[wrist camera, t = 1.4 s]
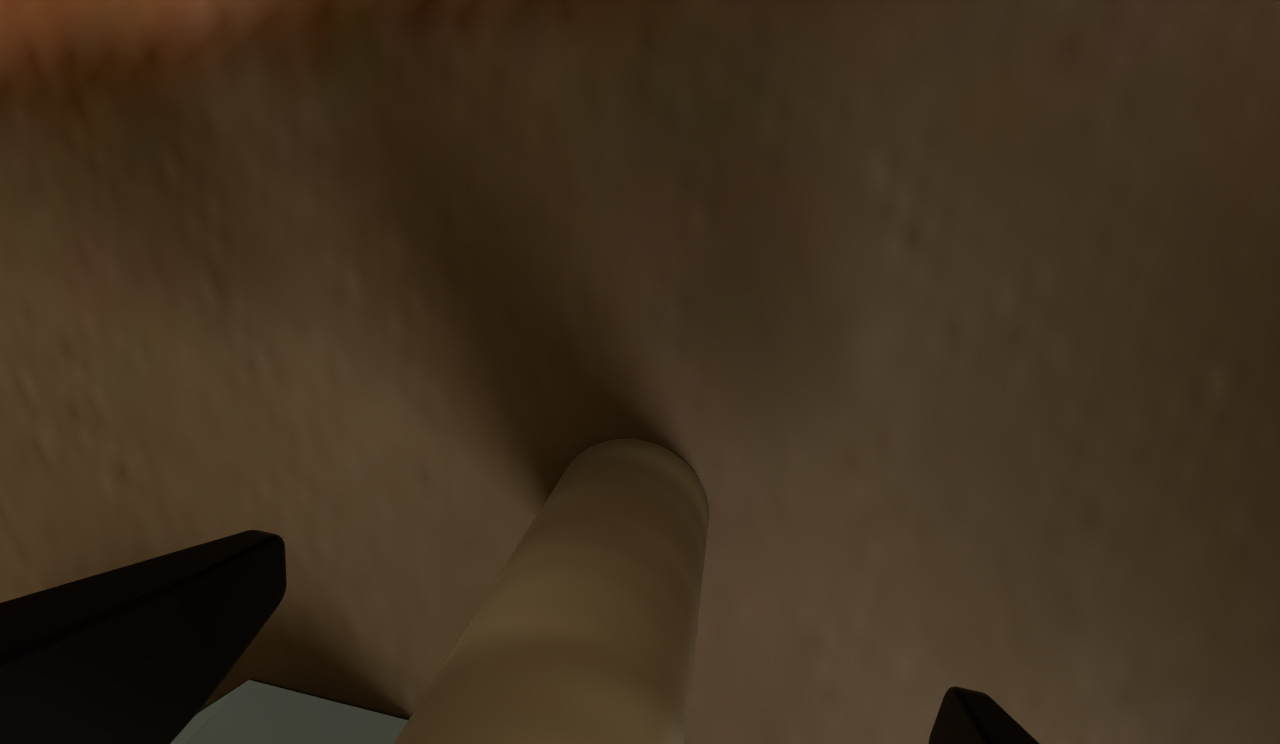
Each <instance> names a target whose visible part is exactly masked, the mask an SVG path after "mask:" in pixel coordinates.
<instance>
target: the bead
mask: <svg viewBox="0 0 1280 744" xmlns="http://www.w3.org/2000/svg"><path fill="white" fill-rule="evenodd" d="M407 722H408V720H405V719H401V718H397V717H393V716H389V715H385V714H381V713H377V712H373V711H369V710H365V709H361V708H358V707H354V706H350V705H346V704H342V703H338V702H334V701H330V700H326V699H322V698H318V697H314V696H310V695H306V694H302V693H298V692H295V691H291V690H287V689H283V688H279V687H275V686H271V685H267V684H263V683H259V682H255V681H251V680H248V681H247V682H245V683H243V684H242V685H240V686H239V687H237V688H236V689H234V690H233V691H231V692H230V693H228V694H227V695H225V696H224V697H222V698H221V699H219V700H218V701H216V702H215V703H213V704H212V705H210V706H208V707H207V708H205V709H204V710H202V711H201V712H199V713H198V714H196V715H195V716H194V717H193V719H192V720H191V721H190V722H189V723H188V724H187V726H186V727H185V728H184V729H183V730H182V731H181V732H180V733H179V735H178V736H177V737H176V738H175V739H174V740H173V741H172V743H171V744H394V743H395V741H396V739H397V738H398V736H399V735H400V733H401V731H402V730H403V728H404V727H405V725H406V723H407Z"/></svg>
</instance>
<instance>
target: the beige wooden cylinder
mask: <svg viewBox="0 0 1280 744" xmlns="http://www.w3.org/2000/svg"><path fill="white" fill-rule="evenodd" d="M708 520H709V507H708V502H707V497H706V494H705V491H704V488H703V486H702V484H701V482H700V480H699V479H698V477H697V476H696V474H695V472H694V471H693V470H692V469H691V468H690V467H689V465H688V464H687V463H686V462H684V461H683V460H682V459H681V458H680V457H679V456H677V455H676V454H674V453H673V452H672V451H670V450H668V449H666V448H664V447H662V446H660V445H657V444H655V443H652V442H648V441H644V440H639V439H613V440H608V441H604V442H601V443H598V444H596V445H593V446H591V447H590V448H588V449H586V450H584V451H583V452H582V453H580V454H579V455H578V456H577V457H576V458H575V459H574V460H573V461H572V462H571V463H570V464H569V466H568V467H567V469H566V470H565V472H564V473H563V475H562V476H561V478H560V480H559V481H558V483H557V484H556V486H555V488H554V489H553V491H552V492H551V494H550V496H549V497H548V499H547V500H546V502H545V504H544V505H543V507H542V508H541V510H540V511H539V513H538V515H537V516H536V518H535V519H534V521H533V523H532V524H531V526H530V527H529V529H528V531H527V532H526V534H525V535H524V537H523V539H522V540H521V542H520V543H519V545H518V547H517V548H516V550H515V551H514V553H513V555H512V556H511V558H510V559H509V561H508V562H507V564H506V566H505V567H504V569H503V570H502V572H501V574H500V575H499V577H498V578H497V580H496V582H495V583H494V585H493V586H492V588H491V590H490V591H489V593H488V594H487V596H486V598H485V599H484V601H483V602H482V604H481V606H480V607H479V609H478V610H477V612H476V613H475V615H474V617H473V618H472V620H471V621H470V623H469V625H468V626H467V628H466V629H465V631H464V633H463V634H462V636H461V637H460V639H459V641H458V642H457V644H456V645H455V647H454V649H453V650H452V652H451V653H450V655H449V657H448V658H447V660H446V661H445V663H444V664H443V666H442V668H441V669H440V671H439V672H438V674H437V676H436V677H435V679H434V680H433V682H432V684H431V685H430V687H429V688H428V690H427V692H426V693H425V695H424V696H423V698H422V700H421V701H420V703H419V704H418V706H417V708H416V709H415V711H414V712H413V714H412V715H411V717H410V719H409V720H408V722H407V723H406V725H405V727H404V728H403V730H402V731H401V733H400V735H399V736H398V738H397V739H396V741H395V743H394V744H685V738H686V728H687V719H688V709H689V700H690V690H691V681H692V671H693V662H694V652H695V643H696V633H697V624H698V614H699V605H700V596H701V586H702V577H703V567H704V558H705V548H706V539H707V529H708Z"/></svg>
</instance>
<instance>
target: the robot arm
mask: <svg viewBox="0 0 1280 744" xmlns="http://www.w3.org/2000/svg"><path fill="white" fill-rule="evenodd" d="M285 590H286V561H285V544H284V541H283V539H282V538H281V537H280V536H279V535H277V534H272V533H268V532H263V531H259V530H249V531H245V532H242V533H238V534H235V535H231V536H228V537H224V538H221V539H218V540H214V541H211V542H207V543H204V544H200V545H197V546H194V547H190V548H187V549H183V550H180V551H177V552H173V553H170V554H166V555H163V556H159V557H156V558H153V559H149V560H146V561H142V562H139V563H135V564H132V565H129V566H125V567H122V568H118V569H115V570H112V571H108V572H105V573H101V574H98V575H94V576H91V577H88V578H84V579H81V580H77V581H74V582H70V583H67V584H64V585H60V586H57V587H53V588H50V589H47V590H43V591H40V592H36V593H33V594H29V595H26V596H23V597H19V598H16V599H12V600H9V601H5V602H2V603H0V744H171V743H172V741H173V740H174V739H175V738H176V737H177V736H178V735H179V733H180V732H181V731H182V730H183V729H184V728H185V727H186V726H187V724H188V723H189V722H190V721H191V720H192V719H193V717H194V716H195V715H196V714H197V713H198V712H199V710H200V709H201V708H202V707H203V706H204V704H205V703H206V702H207V701H208V699H209V698H210V697H211V696H212V694H213V693H214V692H215V690H216V689H217V688H218V687H219V685H220V684H221V683H222V681H223V680H224V678H225V677H226V676H227V674H228V673H229V672H230V670H231V669H232V668H233V666H234V665H235V664H236V662H237V661H238V660H239V658H240V657H241V655H242V654H243V653H244V651H245V650H246V649H247V647H248V646H249V645H250V643H251V642H252V641H253V639H254V638H255V636H256V635H257V634H258V632H259V631H260V630H261V628H262V627H263V626H264V624H265V623H266V622H267V620H268V619H269V617H270V616H271V615H272V613H273V612H274V611H275V609H276V608H277V607H278V605H279V604H280V602H281V600H282V598H283V596H284V593H285ZM929 744H1039V743H1038V742H1037V741H1036V740H1035V739H1034V738H1033V737H1032V736H1031V735H1030V734H1029V733H1028V732H1027V731H1026V730H1024V729H1023V728H1022V727H1021V726H1020V725H1019V724H1018V723H1017V722H1016V721H1015V720H1014V719H1013V718H1012V717H1011V716H1010V715H1009V714H1008V713H1006V712H1005V711H1004V710H1003V709H1002V708H1001V707H1000V706H999V705H998V704H997V703H996V702H995V701H994V700H993V699H992V698H990V697H989V696H988V695H986V694H985V693H982V692H978V691H974V690H969V689H965V688H960V687H951V688H949V689H948V690H947V692H946V693H945V695H944V698H943V701H942V704H941V706H940V709H939V712H938V715H937V717H936V720H935V723H934V726H933V728H932V731H931V734H930V738H929Z"/></svg>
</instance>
